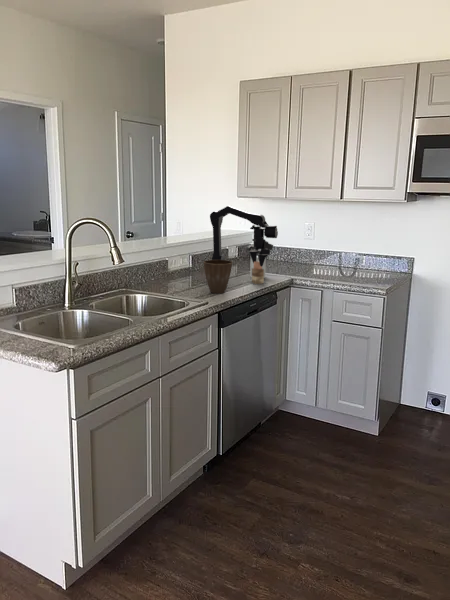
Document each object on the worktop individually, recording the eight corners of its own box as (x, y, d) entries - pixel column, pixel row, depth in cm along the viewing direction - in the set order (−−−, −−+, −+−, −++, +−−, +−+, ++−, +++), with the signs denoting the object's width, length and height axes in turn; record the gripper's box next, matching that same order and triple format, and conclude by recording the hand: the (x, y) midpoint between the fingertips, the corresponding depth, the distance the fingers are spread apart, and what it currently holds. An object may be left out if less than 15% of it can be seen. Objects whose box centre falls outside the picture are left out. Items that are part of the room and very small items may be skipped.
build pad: (253, 285, 284) (253, 284, 284) (247, 282, 292) (247, 281, 292) (268, 284, 287) (268, 283, 287) (261, 281, 296) (261, 280, 296)
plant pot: (212, 288, 275) (212, 258, 272) (236, 290, 269) (237, 261, 265) (198, 293, 262) (198, 262, 259) (223, 296, 256) (223, 264, 252)
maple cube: (255, 283, 287) (255, 276, 286) (251, 282, 291) (252, 275, 290) (263, 283, 288) (263, 276, 288) (259, 281, 293) (259, 274, 292)
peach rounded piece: (255, 269, 285) (255, 262, 284) (252, 268, 289) (252, 261, 288) (263, 269, 287) (263, 262, 286) (259, 267, 291) (260, 261, 290)
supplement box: (265, 277, 306) (266, 257, 303) (254, 278, 304) (254, 257, 301) (261, 275, 313) (261, 255, 310) (249, 276, 310) (250, 255, 308)
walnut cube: (255, 276, 286) (255, 269, 285) (251, 275, 290) (252, 268, 289) (263, 276, 288) (263, 269, 287) (259, 274, 292) (260, 267, 291)
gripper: (279, 238, 278) (278, 266, 282) (264, 235, 295) (263, 261, 299) (260, 239, 274) (260, 267, 278) (246, 235, 291) (246, 262, 295)
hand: (258, 265), depth 288 cm, fingers open, 9 cm apart
